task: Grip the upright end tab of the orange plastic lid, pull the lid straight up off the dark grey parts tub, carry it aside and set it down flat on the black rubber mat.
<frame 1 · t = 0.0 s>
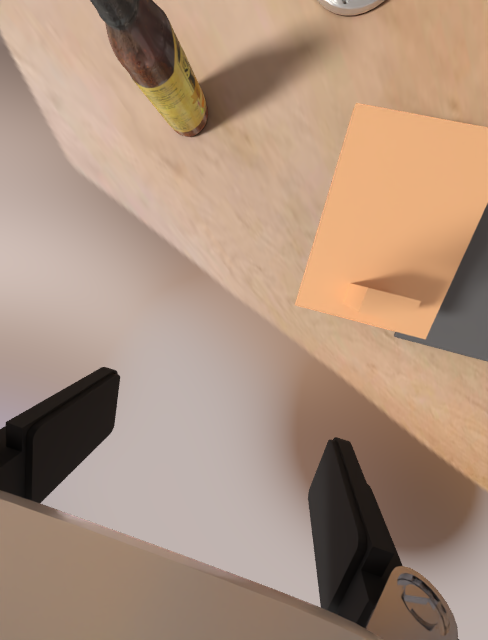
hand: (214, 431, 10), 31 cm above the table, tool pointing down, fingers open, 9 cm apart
lid: (389, 231, 28), point 8 cm above the table, touching tub
sauce bottle: (189, 115, 36), on the table
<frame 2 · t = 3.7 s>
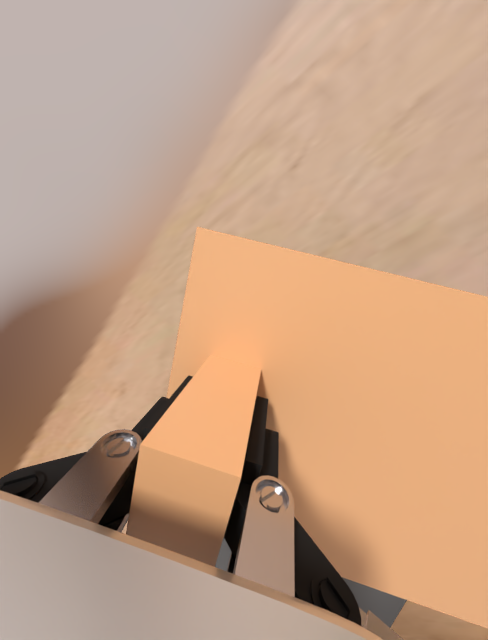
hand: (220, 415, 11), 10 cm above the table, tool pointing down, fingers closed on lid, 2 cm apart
lid: (378, 442, 12), point 8 cm above the table, touching gripper
mat: (279, 539, 25), on the table
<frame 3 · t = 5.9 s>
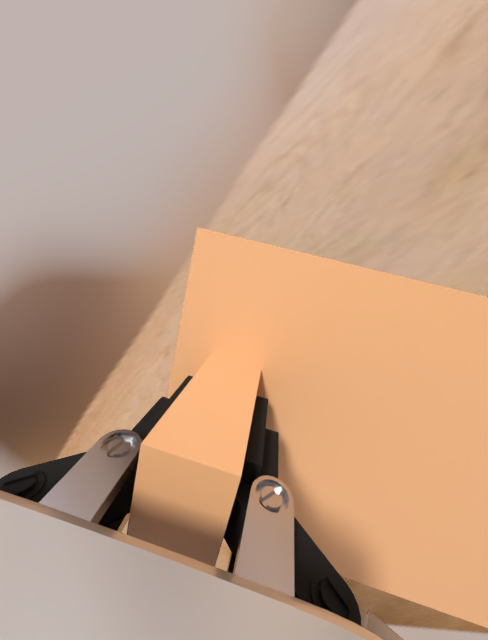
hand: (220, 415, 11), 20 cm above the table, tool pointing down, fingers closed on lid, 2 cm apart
lid: (378, 441, 12), point 19 cm above the table, touching gripper
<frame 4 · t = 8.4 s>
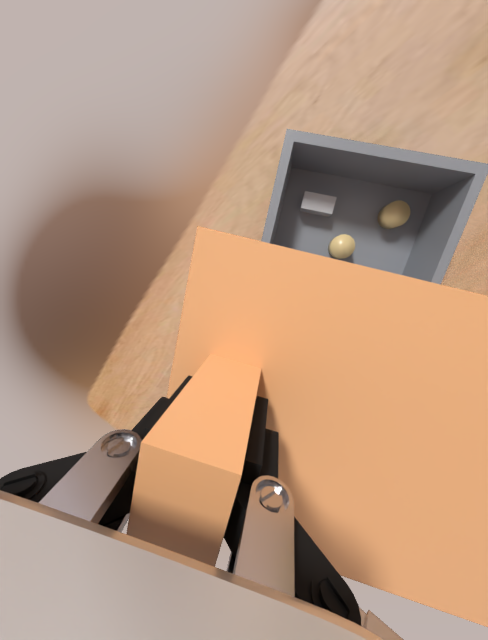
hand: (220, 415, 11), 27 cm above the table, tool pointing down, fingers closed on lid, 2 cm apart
tub: (343, 229, 34), on the table
lid: (378, 440, 12), point 26 cm above the table, touching gripper
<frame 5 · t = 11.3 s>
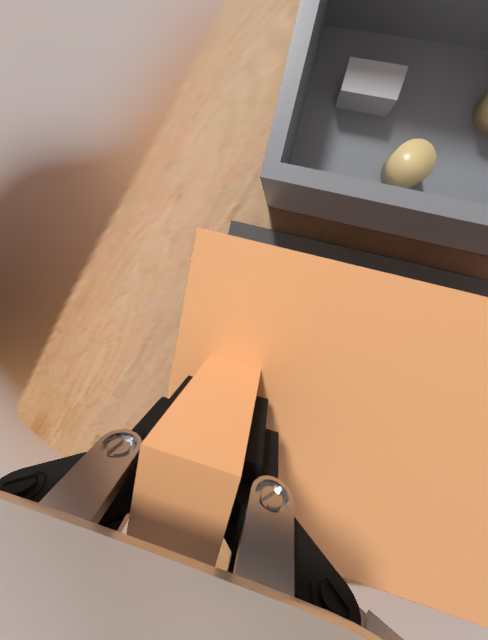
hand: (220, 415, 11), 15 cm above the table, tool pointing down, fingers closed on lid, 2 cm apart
tub: (406, 143, 20), on the table
lid: (378, 441, 12), point 13 cm above the table, touching gripper
mat: (332, 351, 25), on the table
when the fingers open (6 cm above the table, at t = 13.6 s): lid drops 2 cm, resting on mat.
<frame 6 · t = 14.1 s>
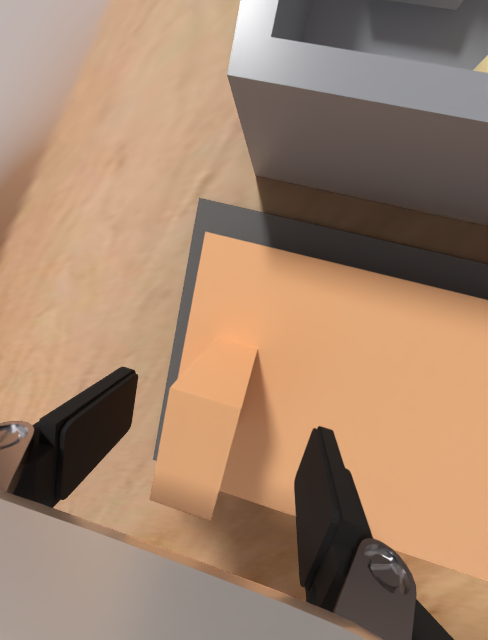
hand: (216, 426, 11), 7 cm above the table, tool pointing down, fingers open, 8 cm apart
tub: (485, 63, 12), on the table
lid: (356, 410, 15), point 2 cm above the table, touching mat
mat: (353, 396, 17), on the table
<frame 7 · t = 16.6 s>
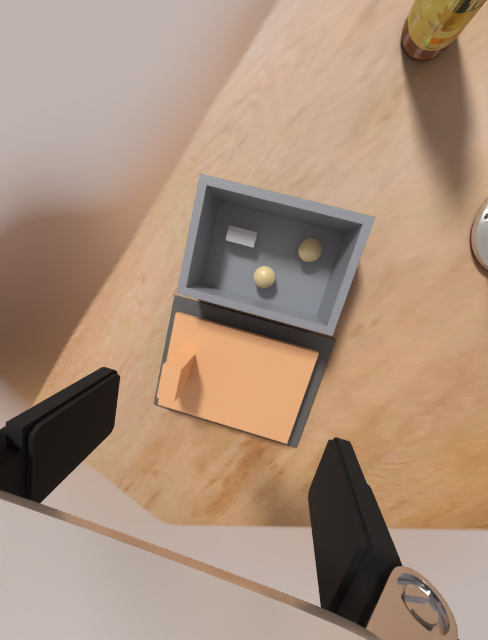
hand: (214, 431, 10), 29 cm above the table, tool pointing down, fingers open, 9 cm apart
tub: (269, 260, 36), on the table
lid: (234, 377, 39), point 2 cm above the table, touching mat
sauce bottle: (426, 33, 29), on the table
mat: (238, 373, 41), on the table
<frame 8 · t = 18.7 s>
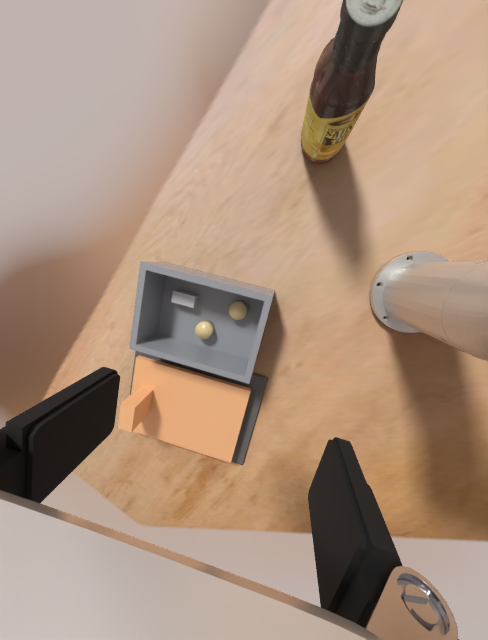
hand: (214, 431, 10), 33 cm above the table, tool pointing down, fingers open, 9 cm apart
tub: (210, 313, 44), on the table
lid: (186, 408, 47), point 2 cm above the table, touching mat
sauce bottle: (322, 141, 36), on the table
mat: (192, 403, 49), on the table
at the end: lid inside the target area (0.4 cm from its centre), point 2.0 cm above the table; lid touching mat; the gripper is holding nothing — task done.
